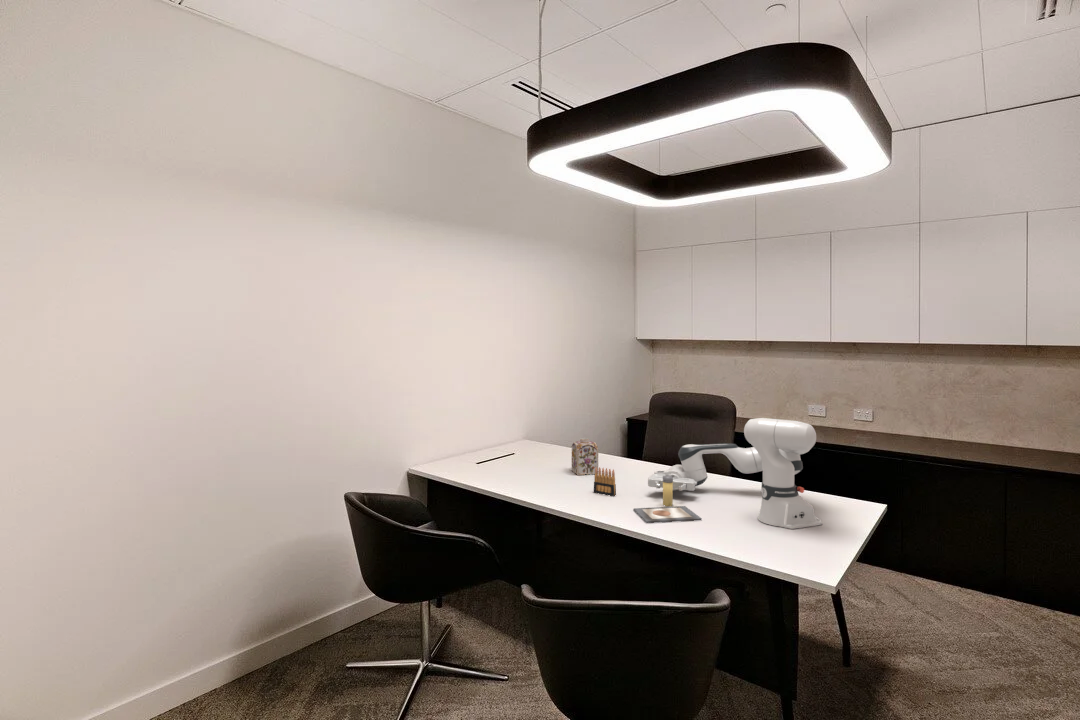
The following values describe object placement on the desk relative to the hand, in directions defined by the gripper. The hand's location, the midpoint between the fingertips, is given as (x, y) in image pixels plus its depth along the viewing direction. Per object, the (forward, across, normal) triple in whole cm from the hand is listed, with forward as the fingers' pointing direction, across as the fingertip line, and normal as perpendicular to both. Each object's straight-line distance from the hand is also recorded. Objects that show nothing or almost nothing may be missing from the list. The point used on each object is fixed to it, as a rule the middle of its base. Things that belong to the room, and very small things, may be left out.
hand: (669, 487), depth 235 cm
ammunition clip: (-2, +29, -6) cm, 30 cm away
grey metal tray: (+18, -2, -6) cm, 19 cm away
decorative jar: (-38, +49, -7) cm, 62 cm away
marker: (+4, 0, -6) cm, 8 cm away
